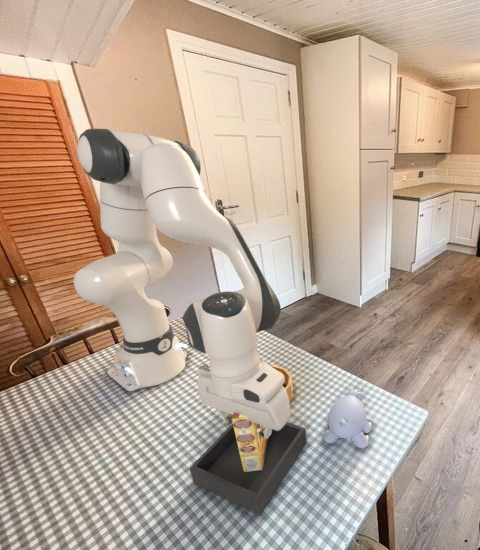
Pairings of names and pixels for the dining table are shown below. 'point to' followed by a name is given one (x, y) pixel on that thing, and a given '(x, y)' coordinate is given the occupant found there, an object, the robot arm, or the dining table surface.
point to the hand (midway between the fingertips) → (247, 428)
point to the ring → (286, 380)
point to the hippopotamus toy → (348, 419)
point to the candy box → (249, 443)
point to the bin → (248, 485)
